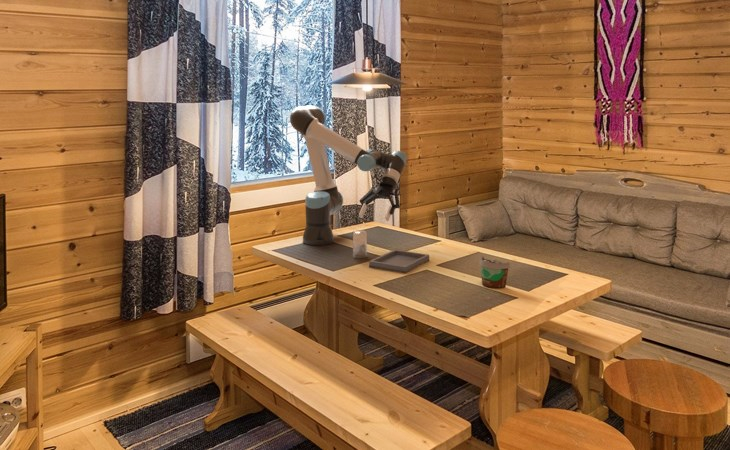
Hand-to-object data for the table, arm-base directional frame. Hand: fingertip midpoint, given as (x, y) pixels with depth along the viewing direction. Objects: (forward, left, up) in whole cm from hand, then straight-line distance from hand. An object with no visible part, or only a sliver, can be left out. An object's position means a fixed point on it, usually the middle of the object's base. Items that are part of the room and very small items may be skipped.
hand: (373, 218), depth 283 cm
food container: (+64, -21, -15) cm, 69 cm away
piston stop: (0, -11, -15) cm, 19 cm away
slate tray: (+20, -12, -15) cm, 28 cm away
